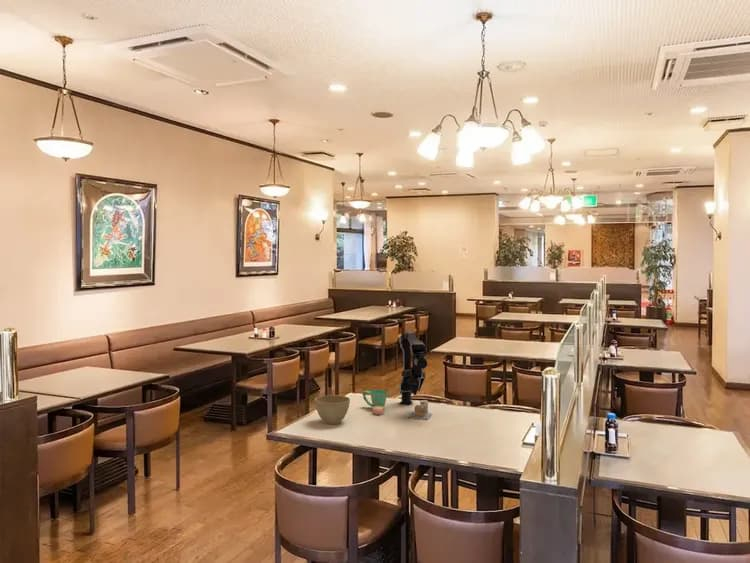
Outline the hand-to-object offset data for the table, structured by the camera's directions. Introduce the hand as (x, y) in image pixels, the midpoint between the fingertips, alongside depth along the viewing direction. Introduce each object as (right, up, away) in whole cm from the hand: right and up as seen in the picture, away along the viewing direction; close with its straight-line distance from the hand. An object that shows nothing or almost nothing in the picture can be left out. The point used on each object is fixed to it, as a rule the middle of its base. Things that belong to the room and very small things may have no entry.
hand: (416, 393), depth 312 cm
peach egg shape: (-21, -11, 0) cm, 24 cm away
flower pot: (-45, -12, -17) cm, 50 cm away
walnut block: (+1, -11, -5) cm, 12 cm away
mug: (-23, -11, +11) cm, 28 cm away
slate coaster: (+1, -12, -5) cm, 13 cm away
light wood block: (+4, -11, +5) cm, 13 cm away
